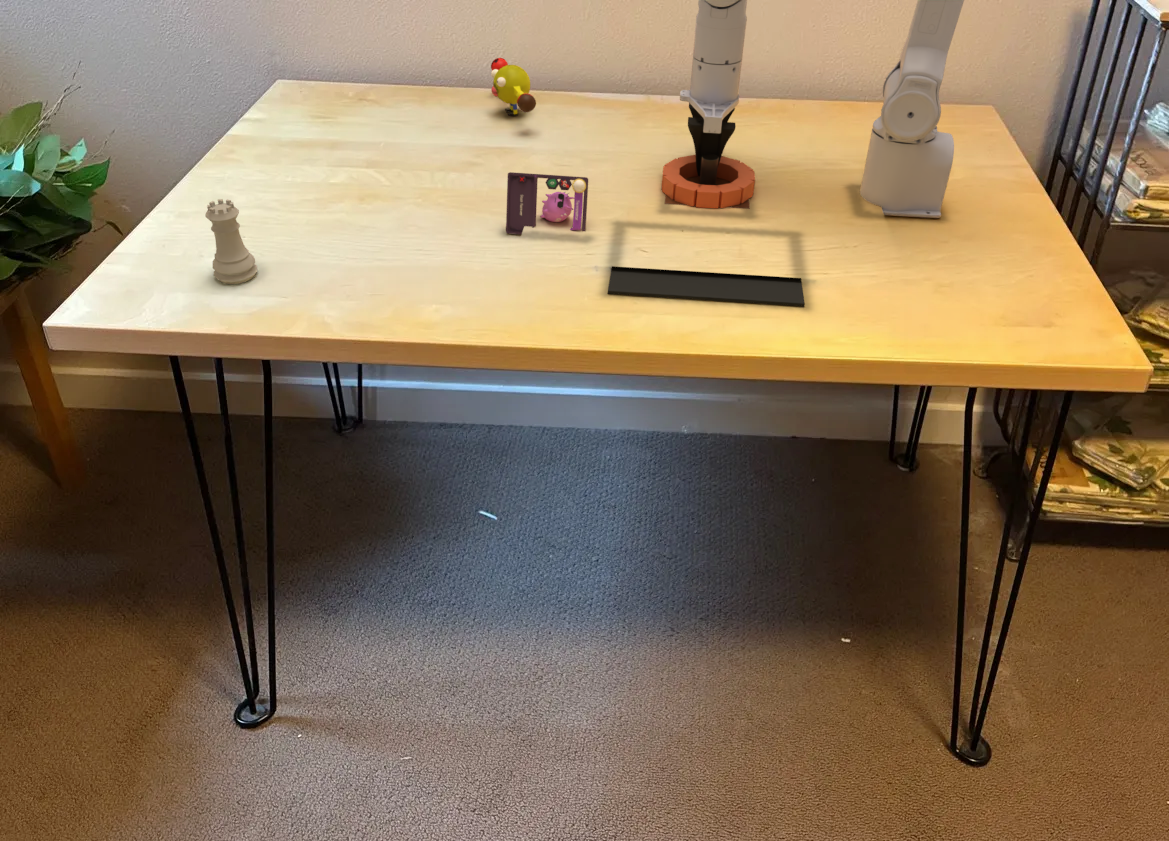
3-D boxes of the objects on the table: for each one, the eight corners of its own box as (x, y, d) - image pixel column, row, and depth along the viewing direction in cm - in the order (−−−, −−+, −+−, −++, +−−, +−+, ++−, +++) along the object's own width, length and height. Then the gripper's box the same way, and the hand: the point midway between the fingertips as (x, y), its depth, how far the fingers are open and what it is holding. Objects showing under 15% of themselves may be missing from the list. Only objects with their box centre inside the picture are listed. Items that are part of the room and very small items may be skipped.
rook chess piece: (241, 260, 105) (226, 191, 100) (267, 273, 103) (252, 203, 98) (205, 276, 102) (187, 205, 97) (231, 290, 100) (213, 218, 95)
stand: (746, 181, 123) (751, 142, 120) (748, 216, 115) (753, 176, 112) (667, 176, 123) (669, 138, 120) (663, 211, 116) (666, 171, 113)
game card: (506, 172, 108) (587, 178, 107) (515, 169, 112) (592, 175, 112) (504, 234, 110) (583, 240, 109) (513, 228, 115) (589, 234, 114)
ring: (751, 172, 122) (753, 157, 121) (754, 210, 114) (756, 194, 113) (663, 167, 123) (664, 152, 122) (660, 205, 115) (661, 189, 113)
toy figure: (479, 94, 146) (476, 47, 142) (515, 90, 148) (513, 44, 143) (508, 138, 133) (506, 89, 129) (547, 134, 134) (546, 85, 130)
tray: (793, 234, 111) (794, 231, 111) (804, 306, 99) (804, 303, 98) (619, 224, 113) (619, 221, 113) (607, 294, 100) (607, 290, 100)
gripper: (684, 36, 119) (675, 143, 128) (681, 75, 108) (672, 190, 116) (742, 39, 119) (730, 146, 127) (745, 79, 107) (731, 194, 116)
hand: (706, 167), depth 122 cm, fingers open, 4 cm apart
